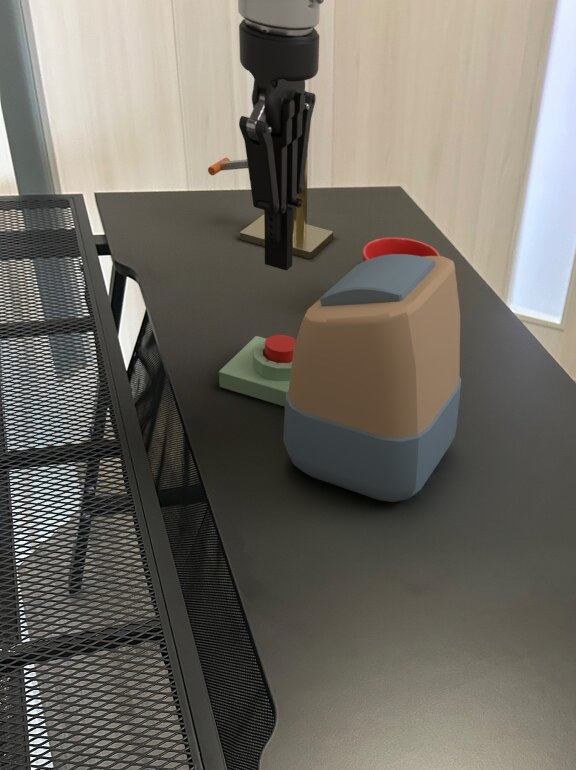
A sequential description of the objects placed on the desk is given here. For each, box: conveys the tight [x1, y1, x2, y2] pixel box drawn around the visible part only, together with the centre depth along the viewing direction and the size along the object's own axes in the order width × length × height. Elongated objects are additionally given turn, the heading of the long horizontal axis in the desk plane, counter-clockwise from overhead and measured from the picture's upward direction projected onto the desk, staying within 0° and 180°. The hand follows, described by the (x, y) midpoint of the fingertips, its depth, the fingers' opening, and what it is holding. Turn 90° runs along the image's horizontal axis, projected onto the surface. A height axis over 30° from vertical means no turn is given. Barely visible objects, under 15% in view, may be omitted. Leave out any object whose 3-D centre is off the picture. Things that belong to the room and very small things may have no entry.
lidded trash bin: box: [282, 254, 462, 503], centre depth 91 cm, size 17×17×23 cm
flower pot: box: [361, 236, 441, 262], centre depth 120 cm, size 11×11×10 cm
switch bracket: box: [239, 150, 334, 260], centre depth 132 cm, size 12×9×14 cm
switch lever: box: [207, 157, 248, 176], centre depth 130 cm, size 14×5×2 cm, turn 72°
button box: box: [218, 335, 292, 408], centre depth 107 cm, size 12×10×4 cm
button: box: [265, 334, 296, 363], centre depth 105 cm, size 4×4×2 cm
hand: (278, 264), depth 97 cm, fingers closed
